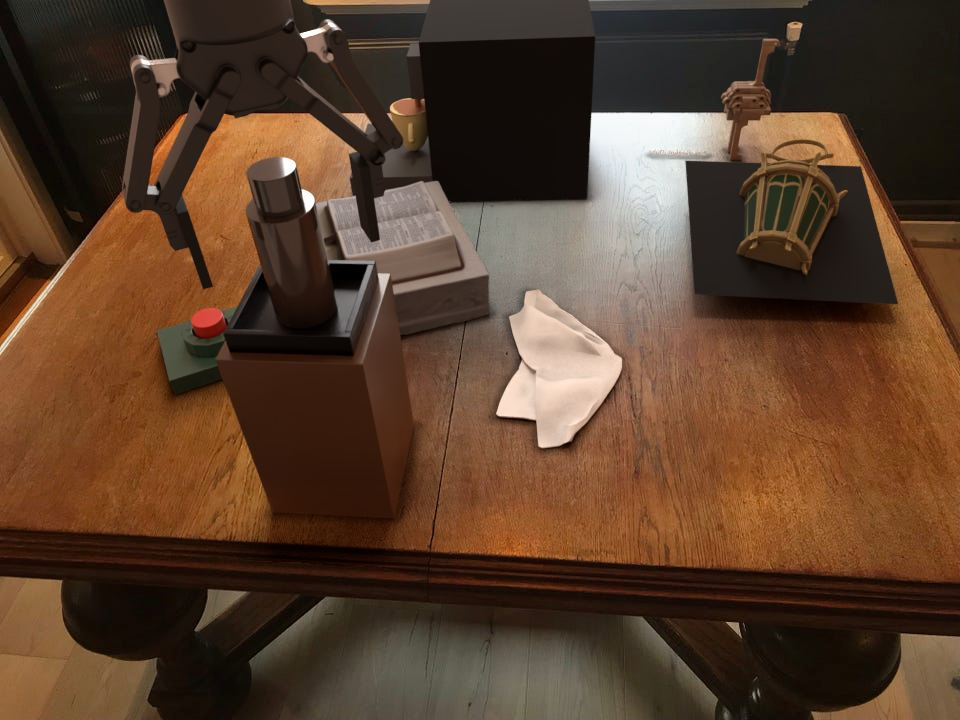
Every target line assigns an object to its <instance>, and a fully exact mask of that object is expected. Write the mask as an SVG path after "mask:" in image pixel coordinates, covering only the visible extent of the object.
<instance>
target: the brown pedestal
mask: <svg viewBox="0 0 960 720" xmlns="http://www.w3.org/2000/svg"><path fill="white" fill-rule="evenodd" d="M328 262H329V266H330V271H331V275H332V280H333V285H334V289H335V294H336V298H337V303H338V306H337V310H336V312H335V313H334V315H333V316H332V317H331V318H330V319H328V320H327V321H326V322H324V323H322V324H320V325H317V326H314V327H310V328H303V329H297V328H290V327H287V326H284V325H283V324H281V323H280V322H279V321H278V320H277V318H276V316H275V312H274V309H273V305H272V302H271V298H270V295H269V292H268V288H267V285H266V281H265V278H264V274H263V271H262V267H261V264H260V263H259V264H258V266H257V268H256V269H255V272H254V274H253V276H252V278H251V280H250V281H249V284H248V285H247V287H246V290H245V291H244V294H243V295H242V297H241V299H240V301H239V303H238V305H237V308H236V310H235V312H234V314H233V316H232V318H231V320H230V322H229V324H228V325H227V327H226V329H225V331H224V333H223V335H224V338H225V342H224V344H223V346H222V348H221V350H220V352H219V354H218V356H217V358H216V359H215V361H216V363H217V366H218V368H219V371H220V374H221V376H222V381H223V385H224V387H225V390H226V393H227V395H228V397H229V401H230V404H231V405H232V408H233V411H234V414H235V416H236V419H237V421H238V424H239V427H240V430H241V432H242V434H243V438H244V440H245V443H246V445H247V448H248V450H249V453H250V456H251V459H252V462H253V464H254V466H255V469H256V472H257V474H258V477H259V480H260V483H261V486H262V488H263V491H264V493H265V496H266V499H267V502H268V505H269V507H270V510H271V512H272V513H278V514H295V515H296V514H298V515H315V516H316V515H318V516H332V517H333V516H338V517H354V518H356V517H357V518H371V519H392V520H393V519H395V517H396V512H397V508H398V503H399V498H400V494H401V489H402V485H403V481H404V475H405V471H406V465H407V461H408V456H409V452H410V447H411V443H412V438H413V433H414V429H415V423H414V416H413V409H412V404H411V398H410V390H409V384H408V378H407V371H406V365H405V364H406V363H405V358H404V352H403V346H402V339H401V335H400V331H399V325H398V318H397V312H396V305H395V299H394V292H393V286H392V280H391V274H384V273H378V272H377V266H376V261H358V260H328Z"/></svg>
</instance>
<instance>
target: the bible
mask: <svg viewBox="0 0 960 720" xmlns="http://www.w3.org/2000/svg"><path fill="white" fill-rule="evenodd" d="M374 201H375V208H376V215H377V222H378V229H379V235H380V240H378V241H375V242H371V241H370V240H369V238H368V237H367V235H366V234H365V232H364V231H363V229H362V228H361V226H360V220H359V214H358V208H357V202H356V196H353V195H352V196H346V197H341V198H329V199H327V200H323V201H318V202H316V206H317V211H318V216H319V220H320V225H321V229H322V234H323V239H324V243H325V248H326V252H327V257H328V260H358V261H376V266H377V272H378V273H384V274H391V280H392V286H393V292H394V299H395V305H396V312H397V318H398V325H399V331H400V336H404V335H406V336H408V335H410V334H416V333H420V332H423V331H428V330H429V331H430V330H433V329H437V328H440V327H445V326H449V325H452V324H459V323H461V324H462V323H463V322H469V321H471V320H474V319H478V318H481V317H484V316H488V315H490V313H491V312H490V305H489V304H490V303H489V300H490V285H489V283H490V274H489V271H488V269H487V268H486V266H485V264H484V263H483V261H482V259H481V257H480V256H479V254H478V252H477V250H476V248H475V247H474V244H473V243H472V241H471V238H470V236H469V235H468V232H467V231H466V228H464V225H463V224H462V222H461V221H460V219H459V218H458V216H457V214H456V213H455V210H454V209H453V207H452V205H451V202H449V201H448V199H447V198H446V196H445V194H444V192H443V190H442V188H441V185H440V183H439V182H438V181H432V182H427V183H424V182H423V181H420V182H417V183H414V184H411V185H408V186H405V187H399V188H394V189H389V190H385V192H384V196H382V197H378V198H374Z"/></svg>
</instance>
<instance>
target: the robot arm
mask: <svg viewBox="0 0 960 720" xmlns="http://www.w3.org/2000/svg"><path fill="white" fill-rule="evenodd" d="M163 2H164V6H165V10H166V12H167V13H166V14H167V16H168V19H169V22H170V27H171V29H172V34H173V37H174V40H175V53H174V57H170V58H169V57H168V58H159V59H158V58H157V59H148V58H147V57H146V56H144V55H142V54H136V55H134V56H132V57H131V58H130V60H129V67H130V71H131V72H130V73H131V75H132V80H133V84H134V87H135V97H134V102H133V103H134V104H133V111H132V116H131V117H132V118H131V124H130V129H129V136H128V145H127V150H126V157H125V164H124V171H123V179H122V186H121V192H122V195H123V199H124V204H125V207H126V209H127V210H128V211H129V212H130V213H134V214H138V213H141V212H143V211H150V212H154V213H155V214H157V215H158V217H159V219H160V221H161V224H162V226H163V230H164V233H165V235H166V238H167V240H168V241H167V242H168V243H169V246H170V247H171V248H172V250H173V251H174V252H176V251H177V252H178V251H181V250H185V249H189V252H190V255H191V258H192V261H193V264H194V267H195V270H196V273H197V276H198V279H199V282H200V284H201V287H202V290H206V289H210V288H214V284H213V282H212V279H211V276H210V275H211V274H210V273H209V270H208V266H207V264H206V260H205V257H204V255H203V252H202V249H201V245H200V242H199V239H198V237H197V233H196V231H195V227H194V224H193V222H192V218H191V215H190V213H189V209H188V207H187V204H186V201H185V198H184V196H183V193H184V191H185V188H186V187H187V185H188V182H189V181H190V178H191V177H192V174H193V173H194V170H195V169H196V167H197V164H198V163H199V160H200V158H201V156H202V154H203V152H204V150H205V148H206V146H207V144H208V143H209V140H210V138H211V136H212V134H213V133H215V132H216V131H217V129H218V127H219V125H220V123H221V121H222V119H223V117H224V115H227V116H233V117H234V119H239V118H244V117H247V116H249V115H251V114H253V113H255V112H257V111H258V112H259V111H262V112H263V111H264V112H271V111H275V110H280V109H281V106H282V105H283V104H284V103H286V101H288V99H289V100H290V101H292V102H293V103H294V104H295V105H296V106H298V107H299V108H300V109H302V110H303V111H305V112H307V113H309V115H310V116H312V118H314V119H316V120H317V121H318V122H319V123H320V124H322V125H323V126H324V127H326V129H328V130H329V131H331V132H332V133H333V134H334V135H336V136H337V137H338V138H339V139H341V141H343V142H344V143H346V144H347V145H348V146H349V147H350V148H351V149H353V150H354V151H353V152H350V153H348V159H349V165H350V171H351V172H352V177H353V183H354V189H355V196H356V202H357V208H358V214H359V220H360V226H361V228H362V229H363V231H364V232H365V234H366V235H367V237H368V238H369V240H370V241H371V242H375V241H378V240H380V235H379V229H378V222H377V215H376V208H375V201H374V198H378V197H382V196H384V192H385V185H384V179H383V171H382V165H383V164H384V162H385V159H386V158H385V155H384V154H385V153H386V152H387V151H389V150H390V149H398V148H400V147H401V146H402V144H403V137H402V135H401V134H400V132H399V131H398V129H397V128H396V126H395V125H394V123H393V121H392V118H391V116H389V114H388V113H387V111H386V109H385V108H384V107H383V105H382V104H381V102H380V101H379V98H378V97H377V96H376V95H375V93H374V91H373V90H372V89H371V87H370V86H369V84H368V83H367V80H365V78H364V76H363V75H362V74H361V72H360V70H359V69H358V68H357V66H356V63H354V62H353V58H352V53H351V50H350V46H349V41H348V38H347V35H346V33H345V32H344V31H343V30H342V29H341V28H340V27H339V26H338V25H337V24H336V23H335V22H334V21H333V20H332V19H324V20H322V21H321V22H320V23H319V26H318V27H317V28H314V29H311V30H308V31H305V32H301V33H300V32H299V30H298V28H297V25H296V22H295V17H294V11H293V6H292V1H291V0H163ZM308 53H314V54H315V55H316V57H317V58H318V59H319V60H320V61H321V62H322V63H325V64H330V66H331V67H332V68H333V70H334V71H335V73H336V74H337V76H338V77H339V78H340V80H341V81H342V83H343V84H344V87H346V89H347V90H348V91H349V93H350V94H351V96H352V98H353V99H354V100H355V102H356V103H357V105H358V106H359V107H360V109H361V111H362V112H363V113H364V115H365V116H366V117H367V119H368V120H369V122H370V124H372V125H373V126H374V128H375V129H376V131H374V132H372V133H371V134H369V135H367V134H366V133H365V131H363V130H362V129H361V128H360V127H359V126H358V125H356V124H355V123H354V122H352V121H351V120H350V119H349V118H348V117H347V116H346V115H344V114H343V113H342V112H340V111H339V110H338V109H337V108H336V107H335V106H333V105H332V104H331V103H330V102H329V101H327V100H326V99H325V98H323V96H322V95H320V94H319V93H318V92H316V91H315V90H314V89H313V88H312V87H310V86H309V84H307V83H306V82H305V81H304V80H303V79H302V78H300V73H301V71H302V69H303V66H304V64H305V62H306V60H307V57H308ZM177 79H180V80H181V81H182V82H183V83H184V84H185V85H187V86H188V87H189V88H190V89H191V90H193V91H194V94H193V96H192V97H191V100H190V102H189V107H188V111H187V114H186V116H185V118H184V120H183V122H182V124H181V126H180V128H179V131H178V133H177V135H176V137H175V139H174V141H173V143H172V146H171V148H170V150H169V152H168V153H167V156H166V158H165V160H164V162H163V164H162V167H160V168H161V169H160V171H159V173H158V175H157V177H156V179H155V181H154V183H150V178H151V171H152V166H153V161H154V155H155V149H156V148H155V147H156V141H157V136H158V130H159V124H160V118H161V98H164V97H166V96H168V95H169V94H170V92H171V86H172V83H173V81H175V80H177Z"/></svg>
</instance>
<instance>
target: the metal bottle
mask: <svg viewBox="0 0 960 720" xmlns="http://www.w3.org/2000/svg"><path fill="white" fill-rule="evenodd" d="M245 174H246V178H247V182H248V185H249V189H250V193H251V196H252V199H251V200H250V201H249V202H248V203H247V205H246V207H245V215H246V218H247V222H248V226H249V229H250V233H251V236H252V240H253V243H254V246H255V250H256V252H257V257H258V260H259V264H261V267H262V271H263V274H264V278H265V281H266V285H267V288H268V292H269V295H270V298H271V302H272V305H273V309H274V312H275V316H276V318H277V320H278V321H279V322H280V323H281V324H283V325H284V326H287V327H290V328H297V329H303V328H310V327H314V326H317V325H320V324H322V323H324V322H326V321H327V320H328V319H330V318H331V317H332V316H333V315H334V313H335V312H336V310H337V306H338V303H337V298H336V294H335V289H334V285H333V280H332V275H331V271H330V266H329V262H328V257H327V252H326V248H325V243H324V239H323V234H322V229H321V225H320V220H319V216H318V211H317V206H316V203H317V202H316V197H315V196H314V195H313V193H311V192H310V191H309V190H306V189H304V188H302V185H301V180H300V176H299V172H298V167H297V163H296V162H295V161H294V159H292V158H288V157H284V156H282V157H281V156H274V157H273V156H272V157H267V158H263V159H260V160H257V161H255V162H254V163H252V164H251V165H249V166H248V167H247V169H246V172H245Z"/></svg>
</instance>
